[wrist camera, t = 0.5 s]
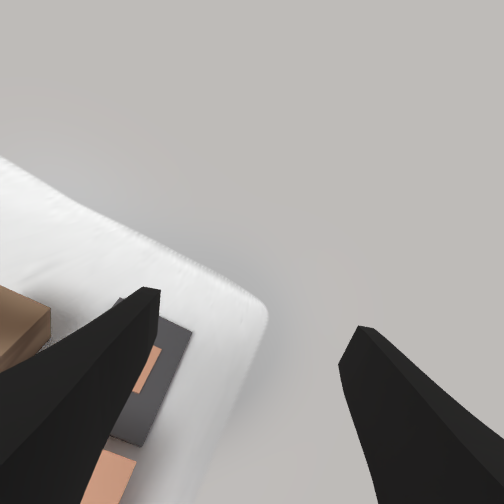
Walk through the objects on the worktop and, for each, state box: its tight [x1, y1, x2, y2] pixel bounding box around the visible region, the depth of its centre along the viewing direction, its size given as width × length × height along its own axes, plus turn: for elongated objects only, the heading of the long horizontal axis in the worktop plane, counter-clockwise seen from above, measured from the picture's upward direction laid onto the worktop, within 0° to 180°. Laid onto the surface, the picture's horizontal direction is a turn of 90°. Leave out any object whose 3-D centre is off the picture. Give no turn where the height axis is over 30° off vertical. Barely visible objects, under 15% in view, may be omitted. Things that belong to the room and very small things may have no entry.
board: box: [110, 298, 192, 447], centre depth 22 cm, size 10×8×1 cm
